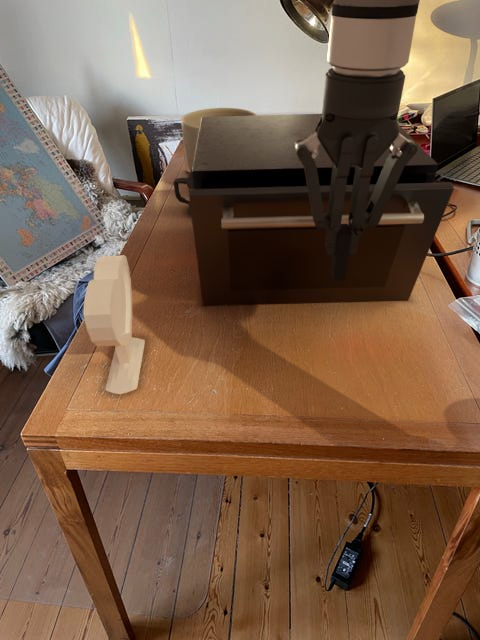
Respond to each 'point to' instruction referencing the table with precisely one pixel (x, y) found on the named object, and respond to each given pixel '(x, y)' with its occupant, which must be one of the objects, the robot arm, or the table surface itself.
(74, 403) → the table surface
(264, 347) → the table surface
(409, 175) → the oven
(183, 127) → the planter
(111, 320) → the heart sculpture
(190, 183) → the mug
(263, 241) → the oven door
